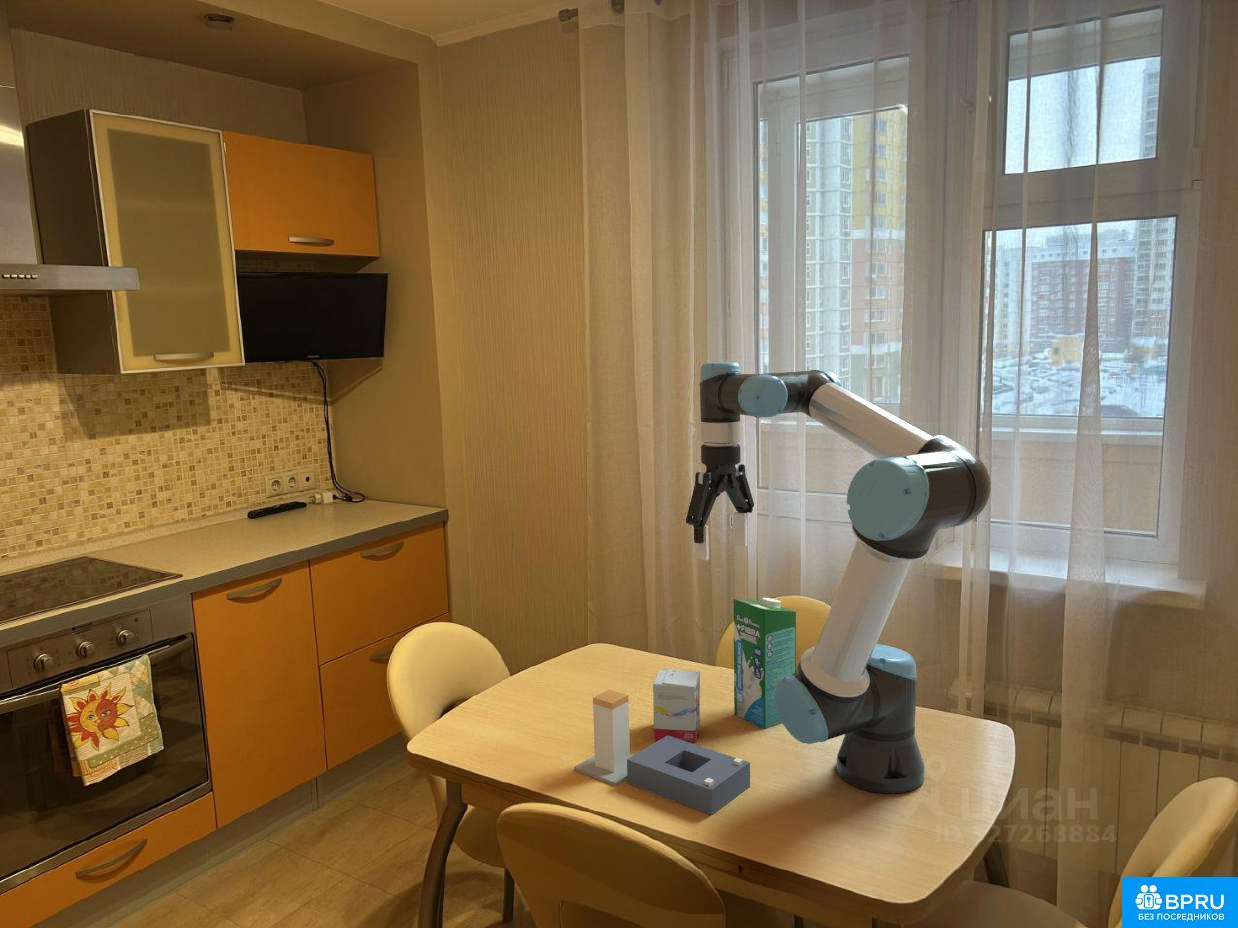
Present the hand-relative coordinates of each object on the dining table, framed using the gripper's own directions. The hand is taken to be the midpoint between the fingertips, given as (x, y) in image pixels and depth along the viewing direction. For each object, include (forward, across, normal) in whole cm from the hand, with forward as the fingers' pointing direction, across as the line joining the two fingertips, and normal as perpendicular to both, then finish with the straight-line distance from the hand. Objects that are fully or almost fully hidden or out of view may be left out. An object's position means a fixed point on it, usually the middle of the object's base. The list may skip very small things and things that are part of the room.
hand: (721, 552), depth 177 cm
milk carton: (+37, -11, +3) cm, 39 cm away
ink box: (+37, +6, -7) cm, 38 cm away
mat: (+37, +25, -8) cm, 45 cm away
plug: (+36, +25, -8) cm, 45 cm away
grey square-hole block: (+37, +22, +7) cm, 43 cm away
